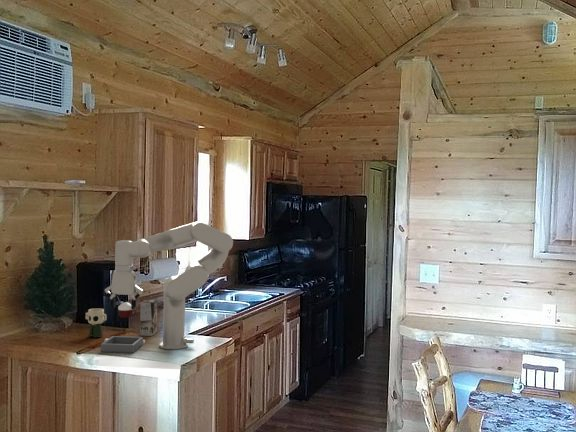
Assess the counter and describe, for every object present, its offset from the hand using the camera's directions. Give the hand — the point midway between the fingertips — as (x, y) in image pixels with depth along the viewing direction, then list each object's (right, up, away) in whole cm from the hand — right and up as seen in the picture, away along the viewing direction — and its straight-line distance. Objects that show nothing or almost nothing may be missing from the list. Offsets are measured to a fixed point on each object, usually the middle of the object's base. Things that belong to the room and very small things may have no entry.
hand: (123, 308), depth 270 cm
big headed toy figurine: (-19, -17, +20) cm, 32 cm away
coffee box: (+4, -17, +30) cm, 35 cm away
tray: (-1, -18, 0) cm, 18 cm away
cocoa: (+1, -4, 0) cm, 4 cm away
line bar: (-2, -17, +10) cm, 20 cm away
